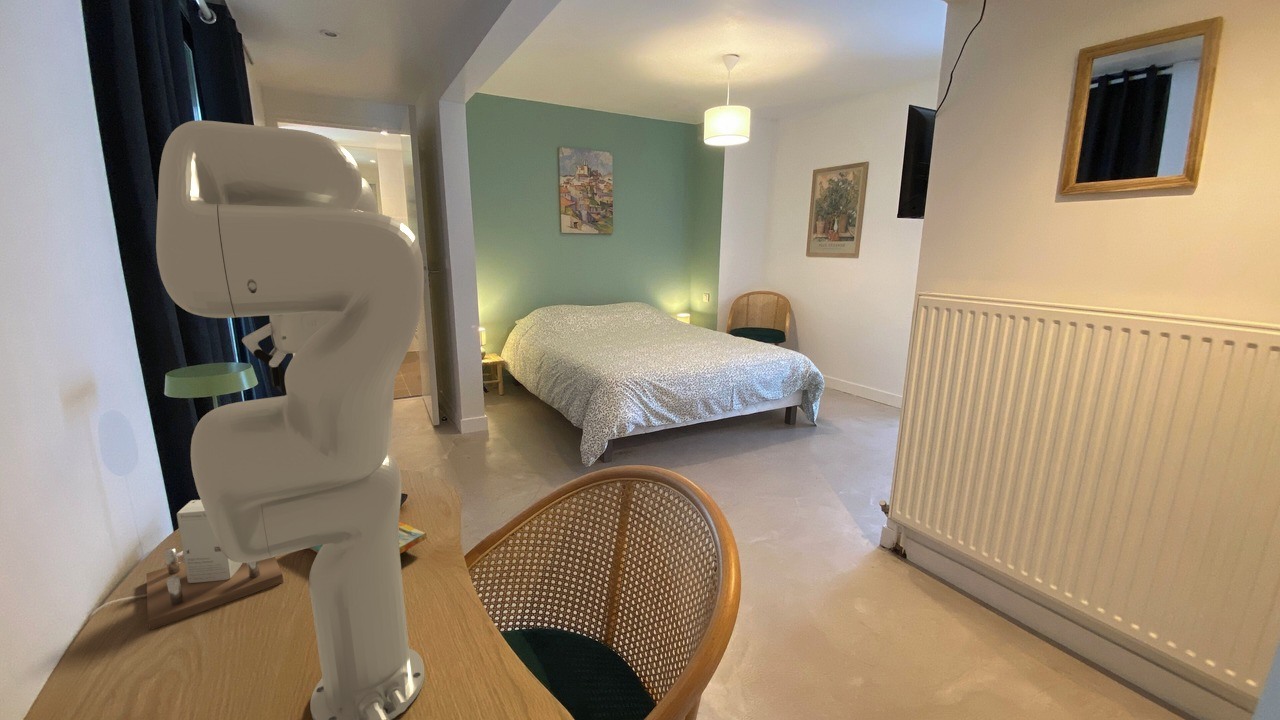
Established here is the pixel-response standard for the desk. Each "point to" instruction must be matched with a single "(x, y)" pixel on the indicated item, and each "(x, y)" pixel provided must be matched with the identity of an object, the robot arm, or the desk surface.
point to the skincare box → (202, 547)
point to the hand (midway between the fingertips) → (318, 384)
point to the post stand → (202, 588)
